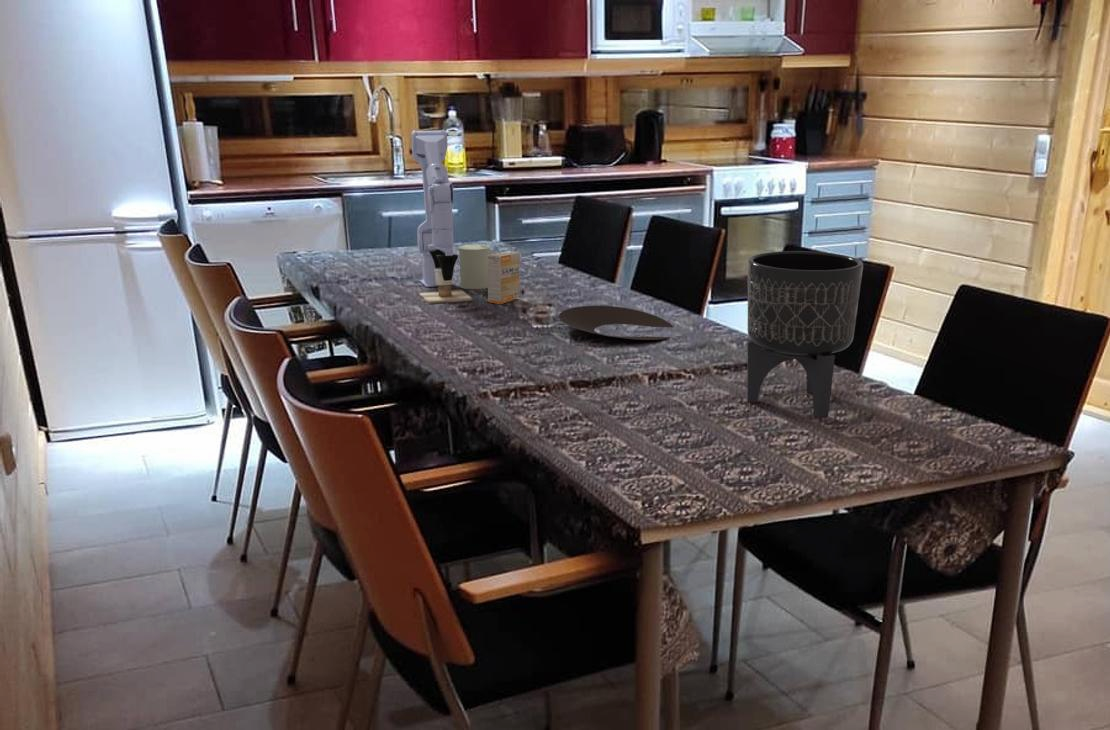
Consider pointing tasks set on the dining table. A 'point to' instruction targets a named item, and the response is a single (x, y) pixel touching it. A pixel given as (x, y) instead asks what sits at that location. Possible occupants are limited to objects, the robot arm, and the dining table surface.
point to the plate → (610, 319)
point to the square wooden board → (445, 295)
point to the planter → (800, 316)
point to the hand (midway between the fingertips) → (444, 277)
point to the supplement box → (503, 277)
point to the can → (474, 266)
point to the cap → (441, 278)
